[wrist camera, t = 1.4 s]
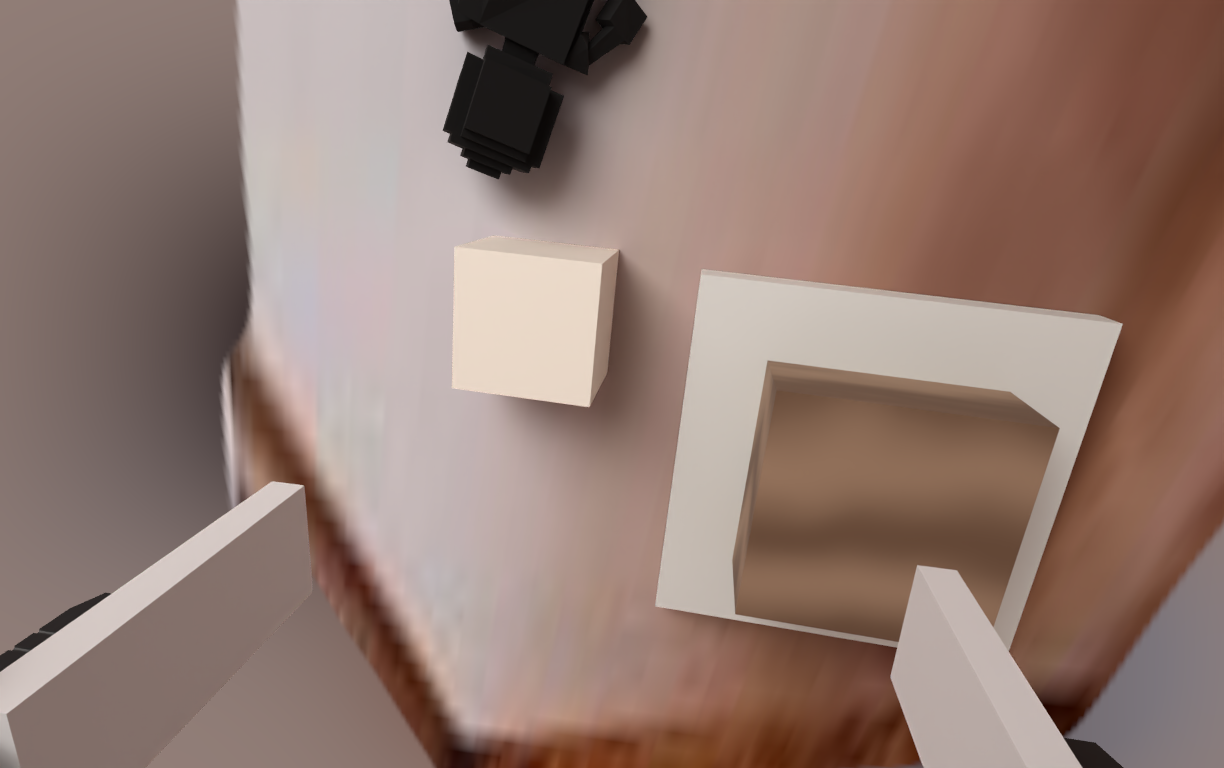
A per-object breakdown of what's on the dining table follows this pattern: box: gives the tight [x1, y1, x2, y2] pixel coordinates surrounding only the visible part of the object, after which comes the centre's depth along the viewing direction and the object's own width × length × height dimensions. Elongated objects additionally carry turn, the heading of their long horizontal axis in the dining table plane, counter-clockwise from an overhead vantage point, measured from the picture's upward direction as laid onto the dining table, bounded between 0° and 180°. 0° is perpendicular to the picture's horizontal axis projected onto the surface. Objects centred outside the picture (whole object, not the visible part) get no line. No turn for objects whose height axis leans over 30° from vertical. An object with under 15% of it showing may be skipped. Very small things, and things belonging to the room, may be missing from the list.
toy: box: [443, 0, 647, 179], centre depth 31 cm, size 8×15×5 cm, turn 142°
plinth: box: [655, 269, 1123, 651], centre depth 37 cm, size 20×20×2 cm
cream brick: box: [452, 236, 619, 407], centre depth 35 cm, size 7×7×6 cm
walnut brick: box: [732, 360, 1060, 642], centre depth 33 cm, size 12×12×5 cm
